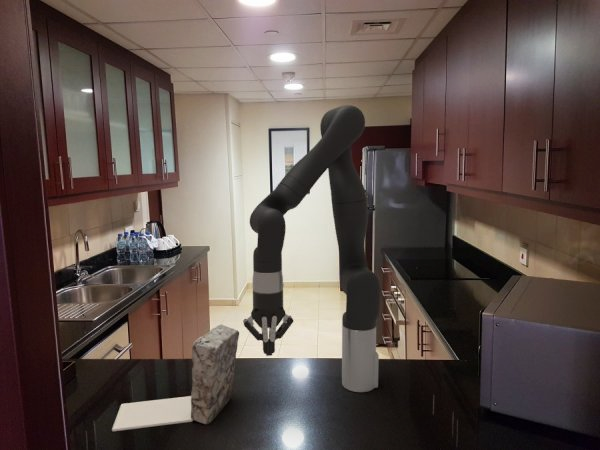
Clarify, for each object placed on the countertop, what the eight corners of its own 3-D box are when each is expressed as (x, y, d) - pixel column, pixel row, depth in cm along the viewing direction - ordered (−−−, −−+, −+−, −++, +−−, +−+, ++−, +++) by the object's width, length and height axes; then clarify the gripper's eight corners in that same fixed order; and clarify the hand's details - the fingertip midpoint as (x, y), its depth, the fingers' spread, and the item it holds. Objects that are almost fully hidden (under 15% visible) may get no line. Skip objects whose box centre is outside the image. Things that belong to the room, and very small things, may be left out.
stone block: (213, 427, 100) (220, 347, 97) (186, 421, 101) (191, 341, 98) (234, 398, 113) (240, 326, 109) (210, 392, 114) (215, 321, 111)
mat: (194, 397, 113) (194, 395, 113) (192, 421, 102) (192, 419, 102) (121, 405, 109) (121, 403, 109) (112, 431, 98) (112, 429, 98)
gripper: (291, 282, 111) (291, 346, 113) (239, 285, 108) (241, 350, 111) (297, 290, 104) (297, 358, 106) (242, 293, 101) (243, 363, 103)
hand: (268, 354), depth 108 cm, fingers closed
